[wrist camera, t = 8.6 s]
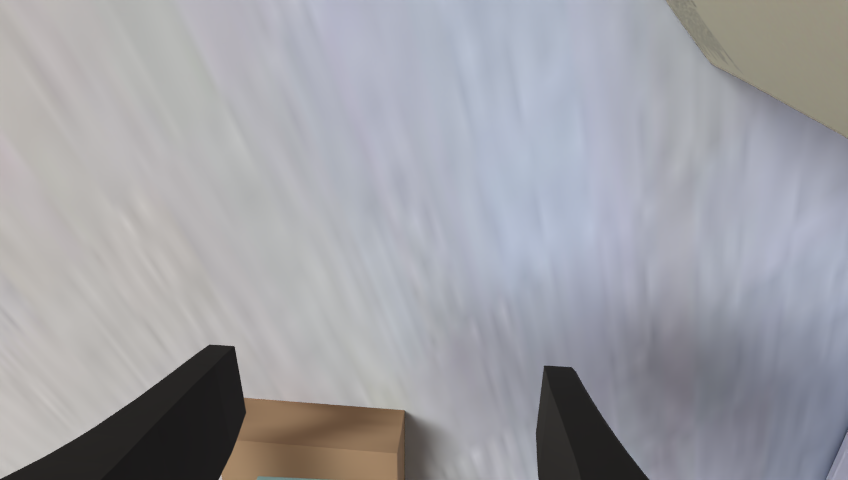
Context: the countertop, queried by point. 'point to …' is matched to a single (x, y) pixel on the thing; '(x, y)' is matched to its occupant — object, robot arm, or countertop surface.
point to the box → (779, 49)
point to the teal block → (282, 479)
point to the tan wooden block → (318, 442)
